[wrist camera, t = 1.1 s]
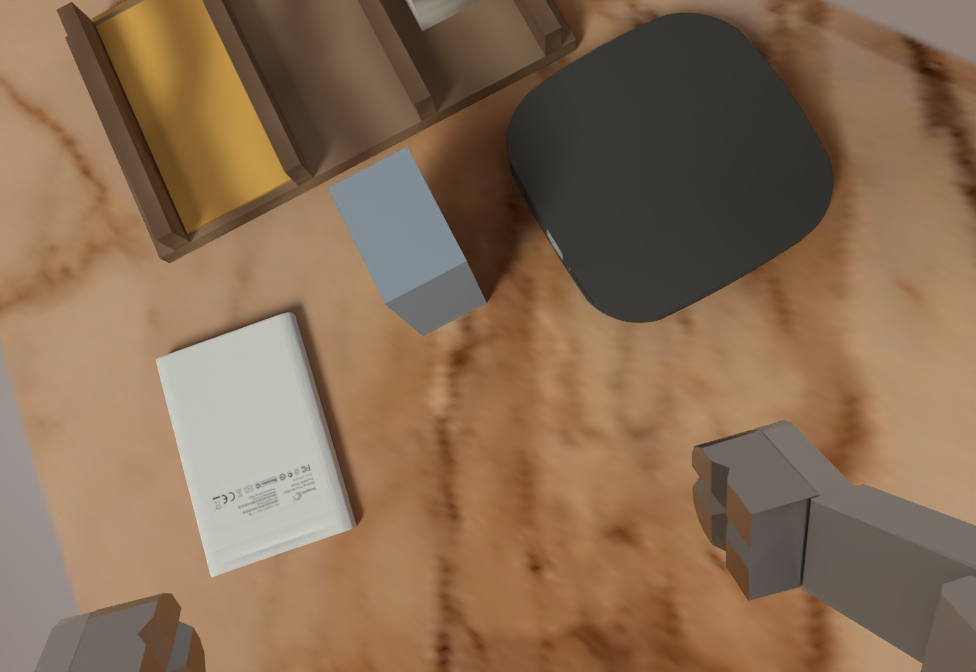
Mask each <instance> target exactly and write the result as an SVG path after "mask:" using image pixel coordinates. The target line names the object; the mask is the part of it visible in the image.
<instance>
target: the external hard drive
mask: <svg viewBox="0 0 976 672" xmlns="http://www.w3.org/2000/svg"><path fill="white" fill-rule="evenodd" d="M156 363H157V367H158V371H159V375H160V379H161V383H162V386H163V390H164V394H165V398H166V402H167V406H168V410H169V414H170V418H171V422H172V426H173V430H174V433H175V437H176V441H177V445H178V449H179V453H180V457H181V461H182V465H183V469H184V473H185V477H186V481H187V485H188V489H189V492H190V496H191V500H192V504H193V508H194V512H195V516H196V520H197V524H198V528H199V532H200V536H201V540H202V543H203V547H204V551H205V555H206V560H207V563H208V567H209V571H210V575H211V577H214V576H217V575H220V574H222V573H225V572H228V571H231V570H234V569H237V568H240V567H242V566H245V565H248V564H251V563H254V562H257V561H260V560H263V559H266V558H268V557H271V556H274V555H277V554H280V553H283V552H286V551H289V550H292V549H295V548H298V547H301V546H304V545H307V544H309V543H312V542H315V541H318V540H321V539H324V538H327V537H330V536H333V535H336V534H339V533H342V532H345V531H347V530H350V529H353V528H355V527H357V525H356V522H355V518H354V515H353V511H352V508H351V505H350V501H349V497H348V494H347V491H346V487H345V484H344V480H343V477H342V473H341V470H340V466H339V463H338V460H337V456H336V453H335V449H334V446H333V442H332V439H331V435H330V432H329V429H328V425H327V422H326V418H325V415H324V412H323V408H322V405H321V401H320V398H319V395H318V391H317V388H316V384H315V381H314V377H313V374H312V370H311V367H310V364H309V360H308V357H307V354H306V350H305V347H304V343H303V340H302V337H301V333H300V330H299V327H298V323H297V320H296V316H295V314H293V313H291V312H287V313H283V314H279V315H276V316H274V317H271V318H268V319H265V320H262V321H260V322H257V323H254V324H251V325H248V326H246V327H243V328H240V329H237V330H235V331H232V332H229V333H226V334H223V335H221V336H218V337H215V338H213V339H209V340H206V341H204V342H201V343H198V344H195V345H192V346H189V347H187V348H184V349H181V350H178V351H175V352H173V353H170V354H167V355H165V356H162V357H160V358H157V359H156Z"/></svg>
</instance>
